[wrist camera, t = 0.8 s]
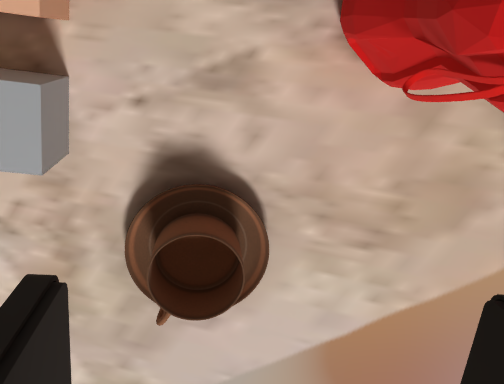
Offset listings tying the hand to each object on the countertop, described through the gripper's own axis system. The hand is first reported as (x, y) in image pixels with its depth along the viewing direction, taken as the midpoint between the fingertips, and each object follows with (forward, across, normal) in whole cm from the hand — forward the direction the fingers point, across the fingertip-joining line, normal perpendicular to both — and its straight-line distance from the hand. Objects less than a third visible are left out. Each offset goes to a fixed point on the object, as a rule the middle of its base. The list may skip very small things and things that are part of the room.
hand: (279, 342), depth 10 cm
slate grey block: (+28, +16, +1) cm, 32 cm away
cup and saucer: (+28, +2, +11) cm, 30 cm away
